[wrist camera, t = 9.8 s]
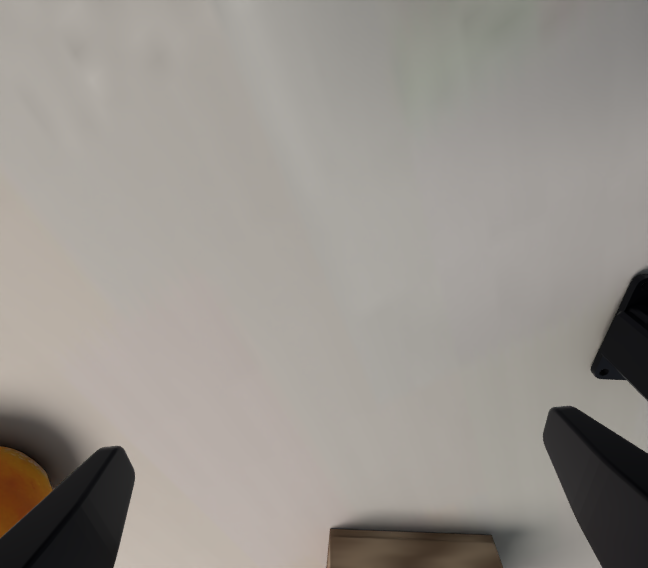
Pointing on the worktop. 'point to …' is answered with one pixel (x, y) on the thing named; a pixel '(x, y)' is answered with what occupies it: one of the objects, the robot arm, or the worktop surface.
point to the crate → (410, 550)
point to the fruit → (19, 486)
